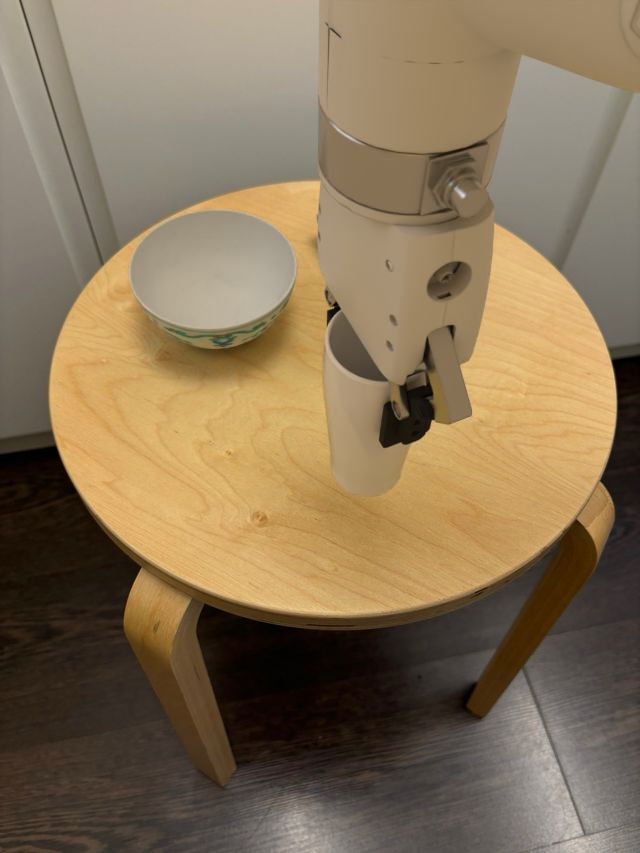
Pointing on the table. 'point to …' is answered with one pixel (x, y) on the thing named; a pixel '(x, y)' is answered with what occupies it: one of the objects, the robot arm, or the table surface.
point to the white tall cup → (358, 414)
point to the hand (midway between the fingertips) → (375, 389)
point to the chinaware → (213, 276)
